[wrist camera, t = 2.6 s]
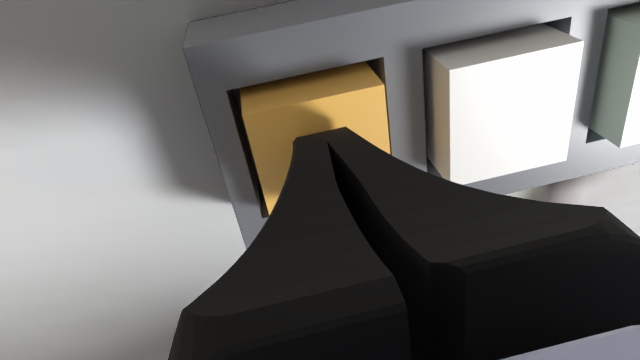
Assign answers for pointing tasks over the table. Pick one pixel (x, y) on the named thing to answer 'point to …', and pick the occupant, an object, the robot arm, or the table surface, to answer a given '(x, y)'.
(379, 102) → the amber key
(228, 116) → the keypad
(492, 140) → the middle key
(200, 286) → the table surface
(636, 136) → the sage key
